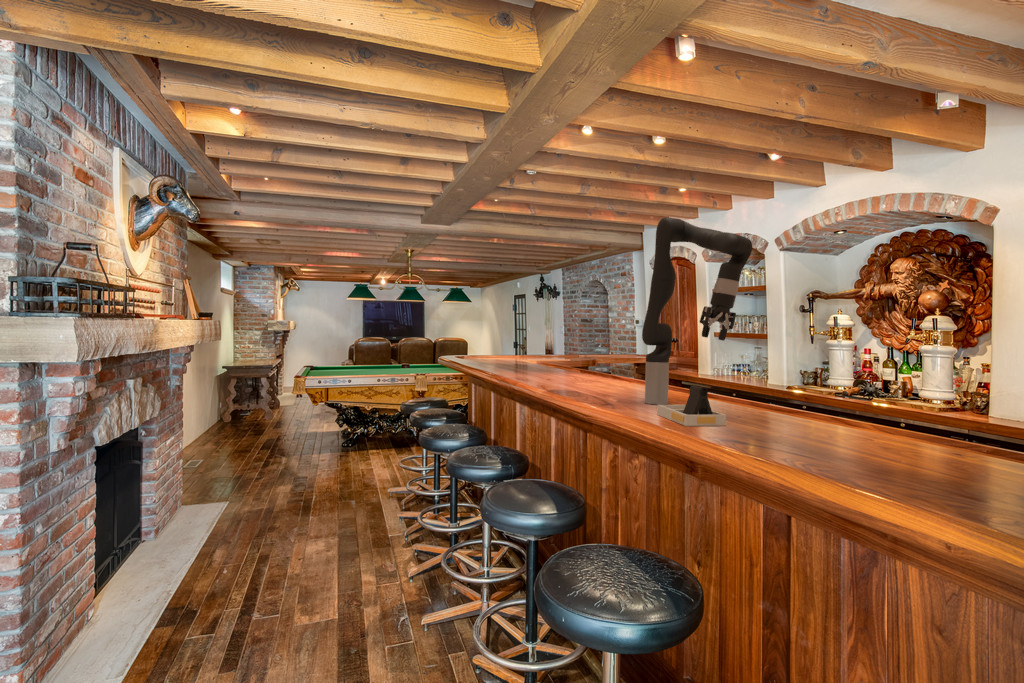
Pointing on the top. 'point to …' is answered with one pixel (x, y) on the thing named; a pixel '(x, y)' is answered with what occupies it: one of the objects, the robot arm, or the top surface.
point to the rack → (690, 416)
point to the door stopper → (698, 402)
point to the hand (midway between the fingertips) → (712, 338)
